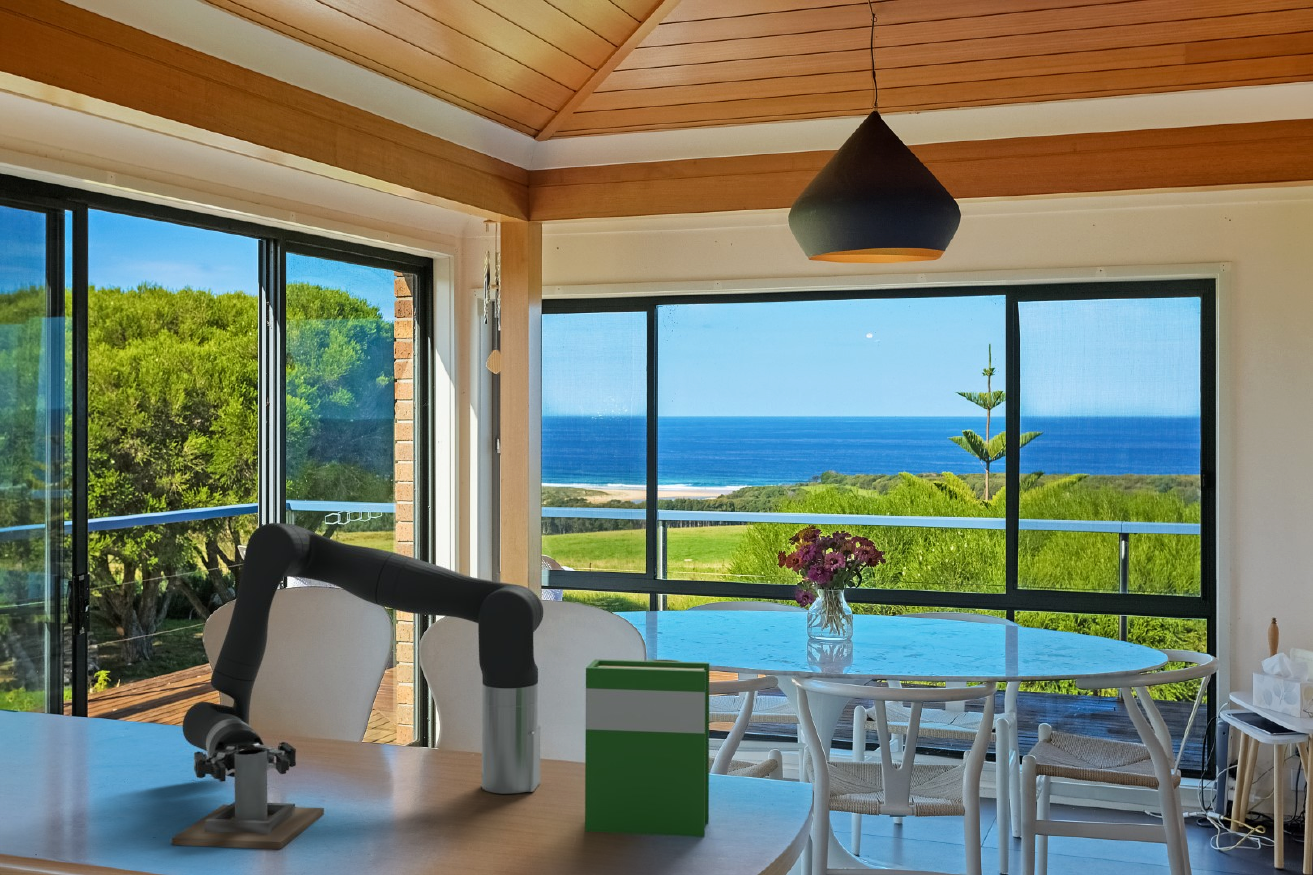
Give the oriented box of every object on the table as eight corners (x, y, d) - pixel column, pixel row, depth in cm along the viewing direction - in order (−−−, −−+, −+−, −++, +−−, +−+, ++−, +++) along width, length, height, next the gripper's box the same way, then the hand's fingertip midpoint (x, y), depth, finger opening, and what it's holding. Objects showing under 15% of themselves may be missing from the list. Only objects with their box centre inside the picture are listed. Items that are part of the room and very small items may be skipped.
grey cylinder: (256, 826, 172) (256, 754, 173) (228, 824, 173) (228, 753, 174) (273, 817, 177) (272, 747, 177) (246, 816, 178) (245, 746, 178)
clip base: (323, 814, 182) (323, 798, 182) (280, 848, 166) (281, 831, 166) (223, 810, 183) (223, 794, 183) (171, 844, 167) (171, 827, 167)
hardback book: (708, 821, 180) (709, 662, 180) (704, 836, 172) (705, 671, 173) (594, 815, 182) (595, 659, 182) (584, 831, 174) (585, 667, 175)
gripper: (186, 727, 184) (202, 750, 170) (280, 718, 191) (303, 739, 177) (185, 776, 184) (202, 803, 169) (279, 764, 191) (303, 789, 177)
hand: (254, 770), depth 173 cm, fingers open, 8 cm apart
